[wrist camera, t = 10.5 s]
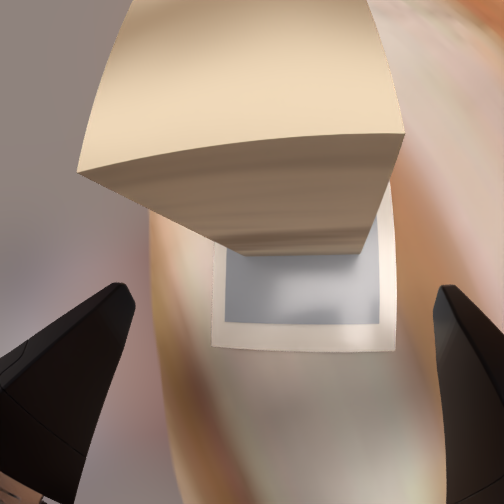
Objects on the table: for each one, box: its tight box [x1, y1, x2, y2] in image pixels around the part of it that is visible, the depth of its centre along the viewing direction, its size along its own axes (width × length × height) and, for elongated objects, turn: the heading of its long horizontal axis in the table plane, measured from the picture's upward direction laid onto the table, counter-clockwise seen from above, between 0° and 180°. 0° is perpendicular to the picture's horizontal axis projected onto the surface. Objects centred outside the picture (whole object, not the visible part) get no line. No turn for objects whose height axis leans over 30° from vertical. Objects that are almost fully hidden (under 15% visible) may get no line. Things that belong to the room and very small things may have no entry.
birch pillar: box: [77, 0, 405, 256], centre depth 11 cm, size 6×6×12 cm
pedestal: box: [211, 180, 397, 352], centre depth 18 cm, size 16×10×3 cm, turn 179°
